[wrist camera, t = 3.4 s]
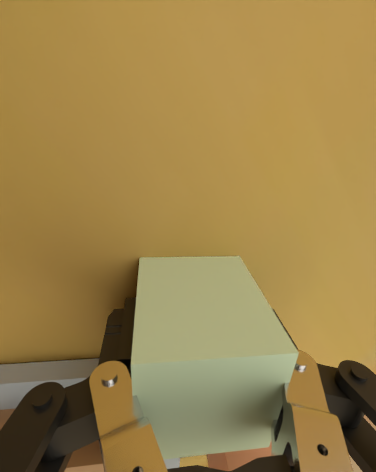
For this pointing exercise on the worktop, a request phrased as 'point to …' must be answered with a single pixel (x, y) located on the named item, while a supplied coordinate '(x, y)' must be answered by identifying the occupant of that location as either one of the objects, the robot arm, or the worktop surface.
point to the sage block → (207, 355)
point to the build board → (32, 374)
